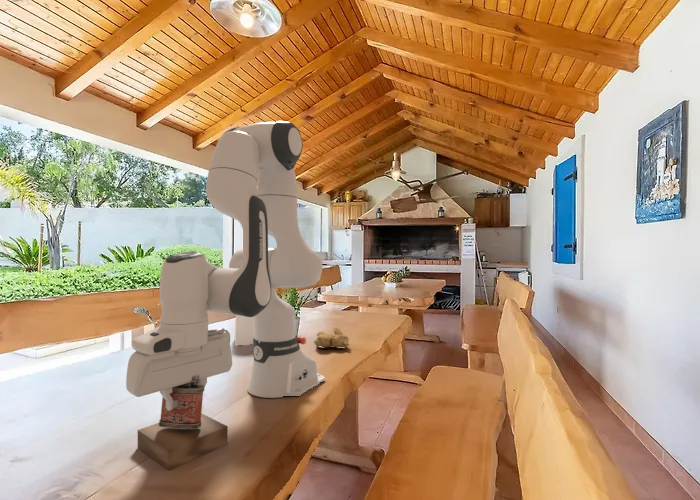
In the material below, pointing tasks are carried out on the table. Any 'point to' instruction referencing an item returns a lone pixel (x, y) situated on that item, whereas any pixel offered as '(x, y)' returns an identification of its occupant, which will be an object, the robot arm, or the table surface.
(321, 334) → the ginger root
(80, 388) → the table surface
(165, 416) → the lighter
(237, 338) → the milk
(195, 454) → the walnut base
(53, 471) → the table surface
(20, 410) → the table surface
